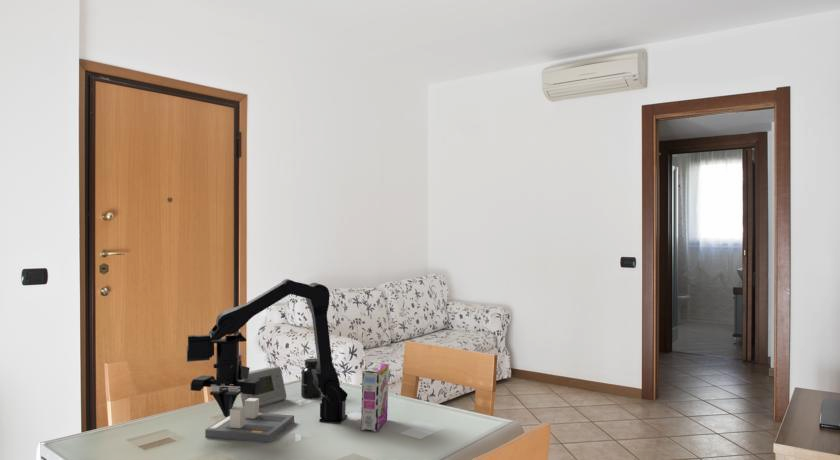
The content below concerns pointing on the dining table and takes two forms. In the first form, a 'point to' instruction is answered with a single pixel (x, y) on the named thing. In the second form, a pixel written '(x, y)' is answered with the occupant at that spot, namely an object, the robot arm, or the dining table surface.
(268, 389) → the digital clock
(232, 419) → the switch tab
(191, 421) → the dining table surface
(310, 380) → the supplement bottle
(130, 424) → the dining table surface
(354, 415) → the dining table surface
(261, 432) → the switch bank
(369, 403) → the candy bar box
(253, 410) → the switch tab
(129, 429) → the dining table surface
